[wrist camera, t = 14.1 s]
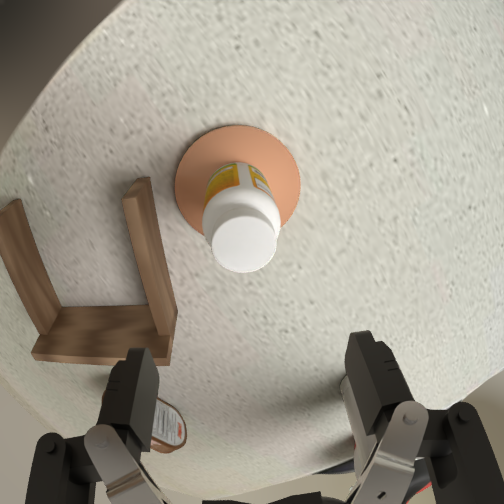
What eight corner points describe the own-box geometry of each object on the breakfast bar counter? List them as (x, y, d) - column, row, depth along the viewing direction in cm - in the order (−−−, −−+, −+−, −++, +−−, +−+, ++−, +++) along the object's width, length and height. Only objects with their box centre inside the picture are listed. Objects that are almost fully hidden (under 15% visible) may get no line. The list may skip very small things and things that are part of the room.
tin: (107, 375, 42) (94, 422, 35) (118, 368, 41) (106, 417, 34) (178, 418, 49) (175, 461, 42) (191, 413, 48) (189, 457, 41)
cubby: (149, 176, 28) (124, 214, 21) (177, 311, 36) (169, 365, 29) (13, 200, 27) (-29, 236, 20) (58, 314, 35) (35, 360, 28)
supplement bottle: (203, 215, 29) (195, 279, 20) (210, 157, 26) (203, 199, 18) (262, 222, 30) (278, 286, 21) (273, 165, 27) (297, 211, 19)
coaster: (298, 122, 26) (300, 124, 25) (297, 234, 32) (299, 239, 31) (169, 131, 26) (167, 133, 25) (185, 243, 31) (184, 248, 30)
